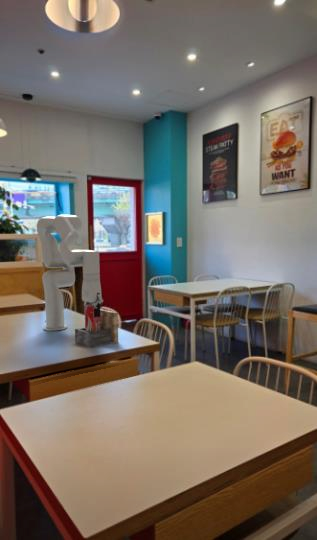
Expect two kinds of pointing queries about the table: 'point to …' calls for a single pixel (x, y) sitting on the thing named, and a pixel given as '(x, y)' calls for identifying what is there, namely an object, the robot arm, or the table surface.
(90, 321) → the soda can
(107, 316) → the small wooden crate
